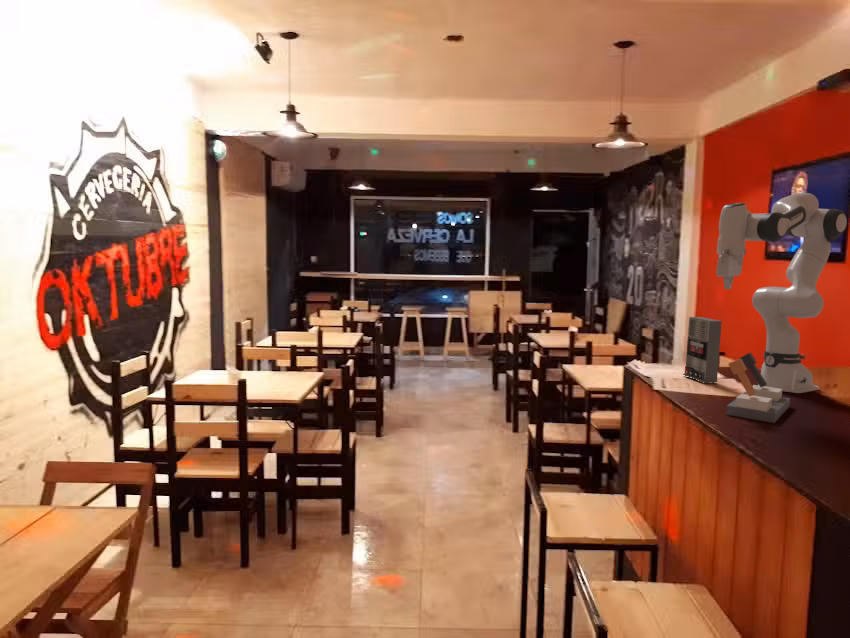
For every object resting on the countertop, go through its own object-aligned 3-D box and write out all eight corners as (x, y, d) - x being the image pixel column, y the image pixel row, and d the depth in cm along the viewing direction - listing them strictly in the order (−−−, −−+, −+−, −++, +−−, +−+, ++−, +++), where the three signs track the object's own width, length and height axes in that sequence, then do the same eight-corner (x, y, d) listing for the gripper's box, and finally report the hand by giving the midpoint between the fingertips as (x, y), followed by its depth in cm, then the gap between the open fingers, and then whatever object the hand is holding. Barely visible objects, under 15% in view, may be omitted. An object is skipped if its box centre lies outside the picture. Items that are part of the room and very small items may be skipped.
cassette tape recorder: (682, 376, 268) (687, 317, 265) (695, 376, 269) (700, 316, 266) (703, 384, 254) (708, 321, 251) (717, 383, 256) (722, 321, 252)
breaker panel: (744, 400, 229) (746, 383, 228) (789, 407, 221) (790, 389, 220) (726, 414, 209) (727, 396, 208) (774, 422, 200) (776, 404, 200)
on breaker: (760, 387, 224) (740, 357, 227) (770, 383, 222) (750, 352, 225) (758, 389, 221) (738, 358, 224) (768, 384, 219) (748, 353, 222)
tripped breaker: (748, 396, 210) (730, 362, 212) (759, 392, 207) (741, 358, 210) (746, 397, 207) (728, 363, 210) (757, 393, 205) (738, 359, 207)
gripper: (733, 250, 217) (729, 291, 218) (747, 250, 233) (743, 288, 234) (713, 249, 220) (710, 289, 222) (728, 249, 236) (725, 287, 238)
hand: (727, 289), depth 228 cm, fingers closed
